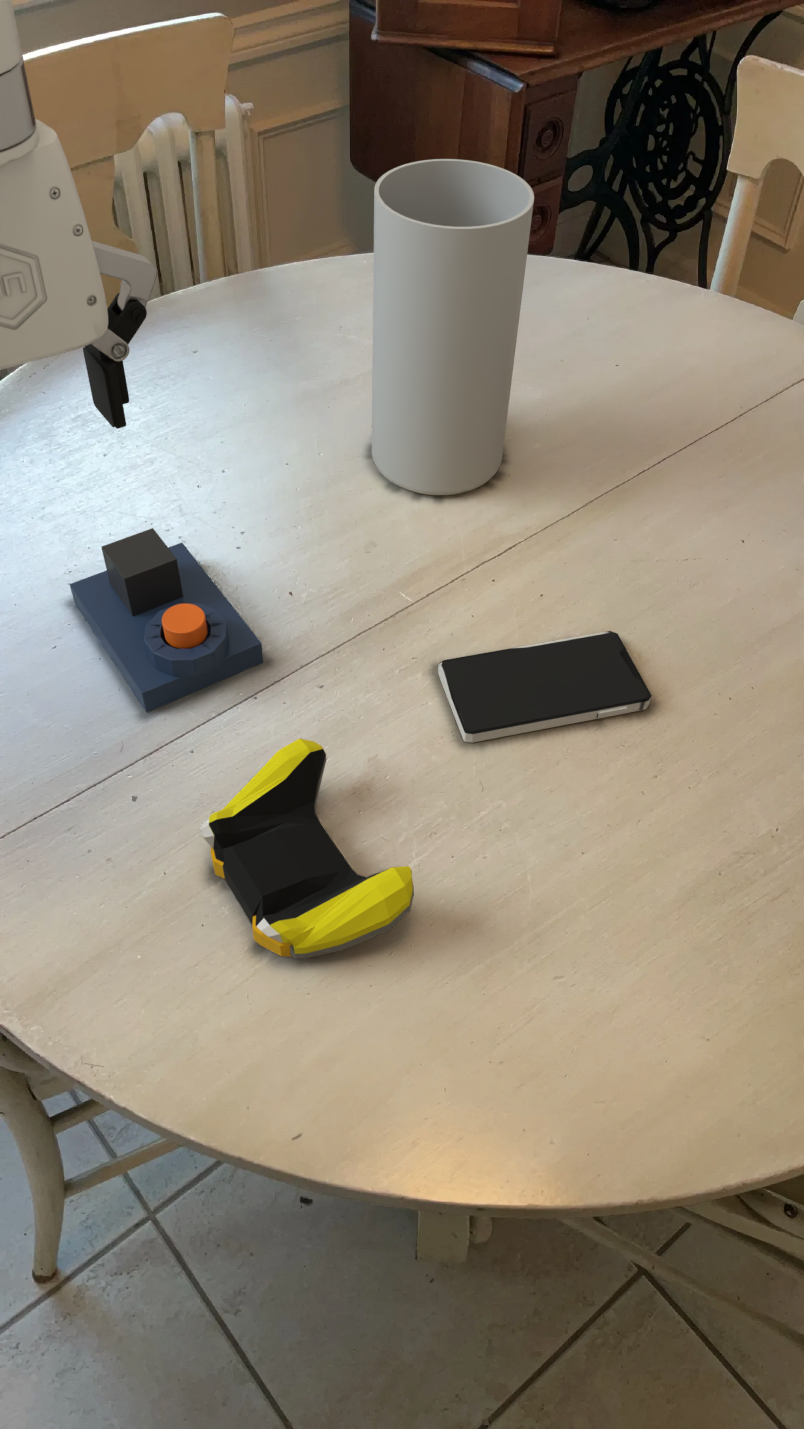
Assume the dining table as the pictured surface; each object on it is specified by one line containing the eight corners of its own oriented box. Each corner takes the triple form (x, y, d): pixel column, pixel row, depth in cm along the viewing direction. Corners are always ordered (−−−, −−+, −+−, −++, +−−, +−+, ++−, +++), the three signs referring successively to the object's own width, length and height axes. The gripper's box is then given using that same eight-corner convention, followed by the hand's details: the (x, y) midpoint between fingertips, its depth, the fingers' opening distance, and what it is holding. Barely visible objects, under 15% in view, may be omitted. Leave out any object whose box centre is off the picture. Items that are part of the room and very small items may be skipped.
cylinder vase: (528, 466, 101) (567, 200, 82) (429, 516, 95) (446, 244, 76) (442, 407, 107) (460, 146, 88) (345, 451, 102) (342, 183, 83)
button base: (266, 666, 83) (263, 630, 80) (149, 717, 79) (141, 681, 76) (185, 561, 90) (179, 525, 87) (74, 603, 87) (64, 567, 84)
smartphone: (436, 659, 82) (615, 628, 85) (436, 670, 83) (612, 638, 86) (466, 736, 77) (655, 700, 80) (465, 747, 78) (651, 711, 81)
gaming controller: (313, 770, 76) (186, 829, 73) (310, 721, 72) (175, 780, 68) (425, 928, 68) (288, 1003, 64) (429, 883, 64) (283, 961, 60)
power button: (214, 639, 79) (212, 622, 78) (176, 655, 78) (173, 638, 77) (196, 614, 81) (193, 597, 80) (157, 629, 80) (154, 612, 79)
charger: (132, 616, 83) (124, 578, 80) (110, 584, 85) (100, 546, 82) (185, 595, 84) (179, 557, 81) (162, 564, 87) (155, 526, 84)
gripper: (-247, 173, 41) (-108, 525, 54) (161, 102, 48) (199, 429, 61) (-287, 111, 45) (-148, 452, 58) (95, 54, 52) (144, 370, 65)
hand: (29, 440), depth 59 cm, fingers open, 9 cm apart
